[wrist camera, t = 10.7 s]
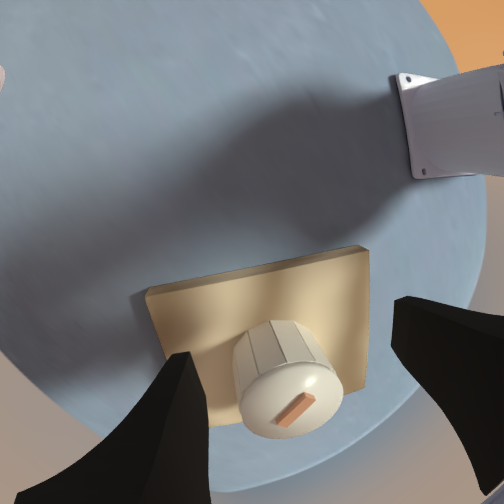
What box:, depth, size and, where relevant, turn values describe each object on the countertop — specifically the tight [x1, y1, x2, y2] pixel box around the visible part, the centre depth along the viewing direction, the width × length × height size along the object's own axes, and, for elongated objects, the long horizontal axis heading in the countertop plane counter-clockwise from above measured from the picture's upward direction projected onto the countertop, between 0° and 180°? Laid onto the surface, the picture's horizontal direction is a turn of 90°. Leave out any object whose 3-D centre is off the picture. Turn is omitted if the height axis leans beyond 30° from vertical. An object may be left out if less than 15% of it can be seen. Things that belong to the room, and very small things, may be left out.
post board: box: [145, 245, 370, 427], centre depth 17 cm, size 14×12×5 cm
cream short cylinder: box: [232, 320, 343, 439], centre depth 16 cm, size 6×6×5 cm
